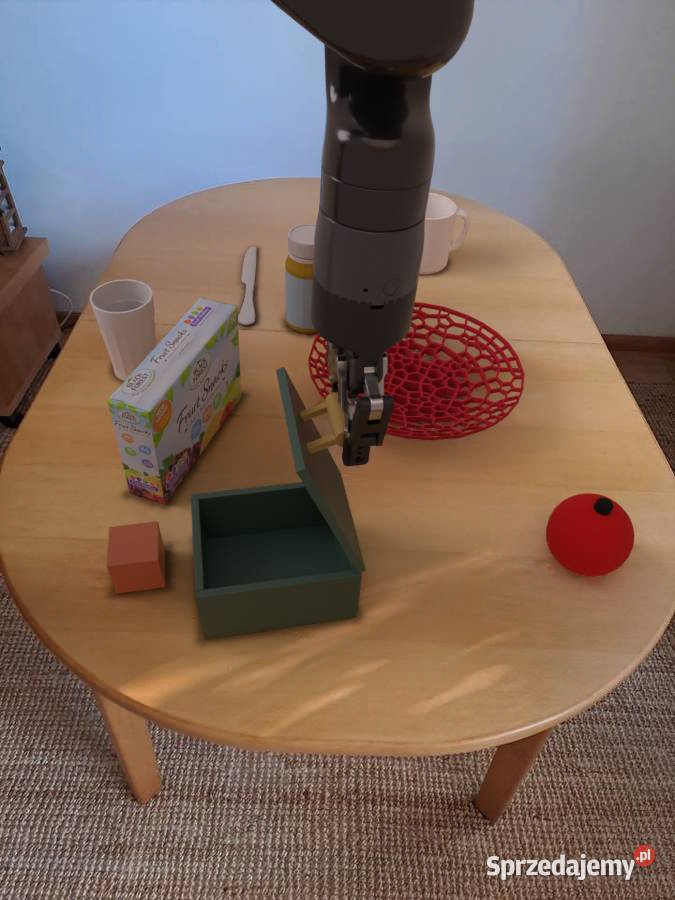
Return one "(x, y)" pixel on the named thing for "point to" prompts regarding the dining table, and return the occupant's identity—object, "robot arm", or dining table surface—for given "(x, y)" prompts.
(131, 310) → the cup
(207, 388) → the snack box
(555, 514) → the ornament
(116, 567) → the block
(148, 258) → the dining table surface
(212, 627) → the chest
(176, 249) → the dining table surface
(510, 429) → the dining table surface
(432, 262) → the mug
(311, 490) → the lid
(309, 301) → the bottle
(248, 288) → the butter knife
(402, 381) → the bowl
